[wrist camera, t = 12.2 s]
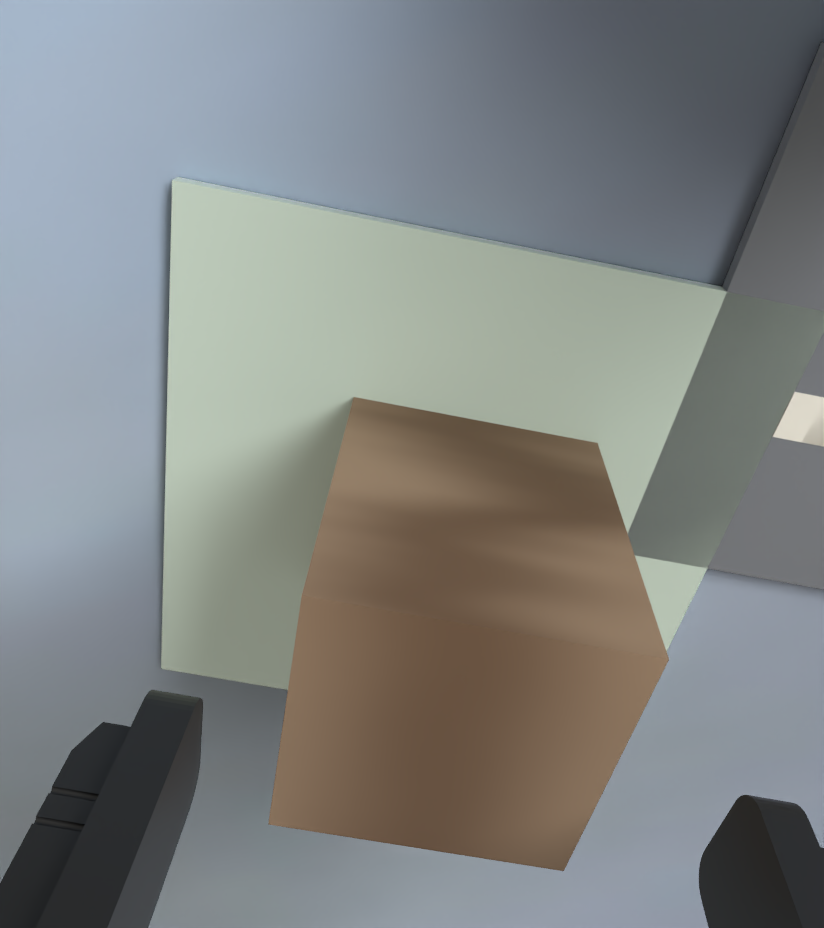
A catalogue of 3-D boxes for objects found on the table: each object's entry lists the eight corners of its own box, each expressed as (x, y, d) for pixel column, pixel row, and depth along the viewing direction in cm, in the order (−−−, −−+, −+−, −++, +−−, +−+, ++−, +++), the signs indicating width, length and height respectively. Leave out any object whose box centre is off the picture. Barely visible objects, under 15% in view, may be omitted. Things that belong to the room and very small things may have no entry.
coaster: (825, 307, 14) (832, 313, 14) (617, 736, 20) (620, 745, 20) (177, 177, 14) (172, 179, 13) (165, 660, 20) (161, 668, 19)
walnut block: (597, 443, 15) (668, 660, 10) (532, 624, 18) (563, 871, 13) (353, 396, 15) (302, 595, 10) (322, 588, 18) (268, 824, 13)
